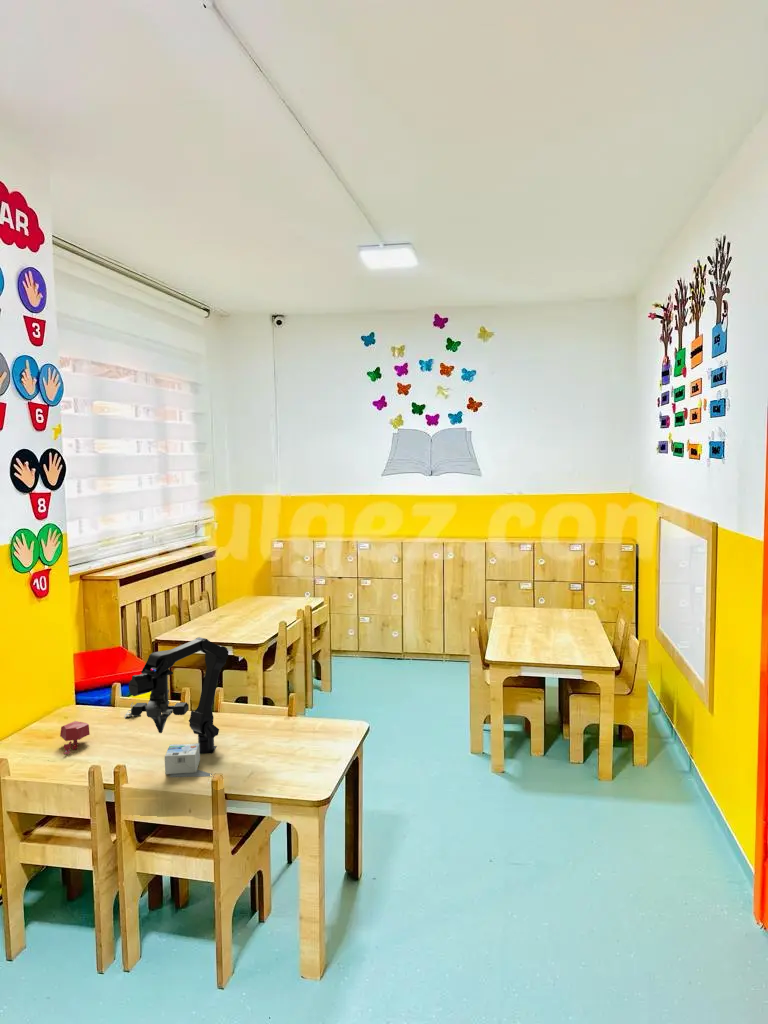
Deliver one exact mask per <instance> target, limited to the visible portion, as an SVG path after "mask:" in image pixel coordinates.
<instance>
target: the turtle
mask: <svg viewBox="0 0 768 1024" xmlns="http://www.w3.org/2000/svg"><path fill="white" fill-rule="evenodd" d="M89 735H91V734H90V724H89V723H87V722H83V721H78V720H74V721H72V722H70V723H67V724H64V725H62V726H61V728H60V733H59V737H61V739H63V740H64V741H65V742H68V744H66V743H65V744H64V745H63V748H64V750H65V751H64V752H63V755H64V754H68V755H70V754H69V753H70V752H71V751H70V749H71V750H72V751H73V750H74V751H75V750H76V749H77V748H78V745H79V742H78V741H79V740H81V739H83V738H85V737H88V736H89ZM72 741H73V743H72ZM77 744H78V745H77ZM74 745H76V746H74Z"/></svg>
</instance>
